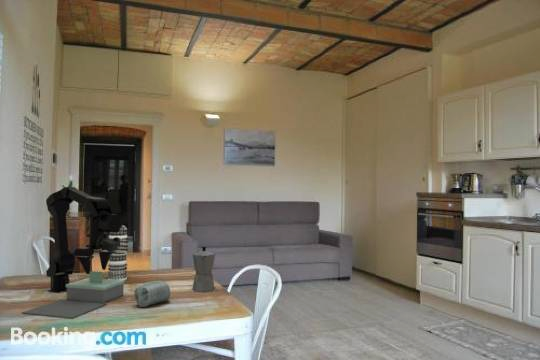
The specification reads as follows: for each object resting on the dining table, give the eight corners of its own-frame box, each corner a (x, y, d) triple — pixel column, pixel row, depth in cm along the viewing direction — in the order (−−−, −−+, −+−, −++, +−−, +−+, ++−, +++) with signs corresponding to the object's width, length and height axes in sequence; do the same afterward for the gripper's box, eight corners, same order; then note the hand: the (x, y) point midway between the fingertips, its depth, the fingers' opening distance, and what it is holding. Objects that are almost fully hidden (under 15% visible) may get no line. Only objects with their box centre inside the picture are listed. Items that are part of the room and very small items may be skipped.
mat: (21, 313, 136) (21, 312, 136) (60, 300, 153) (60, 299, 153) (72, 318, 131) (72, 317, 131) (106, 305, 148) (106, 303, 148)
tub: (66, 300, 153) (66, 287, 153) (88, 293, 165) (88, 280, 165) (103, 303, 149) (103, 290, 149) (123, 295, 161) (123, 283, 161)
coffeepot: (216, 292, 167) (216, 248, 168) (192, 293, 165) (193, 249, 166) (212, 284, 182) (213, 243, 183) (191, 285, 180) (191, 244, 181)
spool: (143, 302, 140) (143, 274, 145) (128, 310, 145) (128, 282, 150) (177, 304, 149) (175, 278, 154) (162, 312, 154) (160, 286, 159)
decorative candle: (123, 281, 187) (124, 226, 187) (103, 281, 187) (104, 226, 188) (130, 277, 196) (131, 224, 197) (111, 277, 196) (112, 224, 197)
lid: (65, 290, 153) (66, 273, 153) (88, 283, 165) (89, 267, 166) (103, 293, 149) (104, 276, 149) (124, 286, 161) (125, 270, 161)
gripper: (99, 234, 147) (98, 278, 146) (129, 229, 165) (128, 268, 164) (73, 233, 150) (71, 276, 149) (105, 228, 168) (104, 267, 167)
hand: (96, 271), depth 157 cm, fingers open, 9 cm apart
